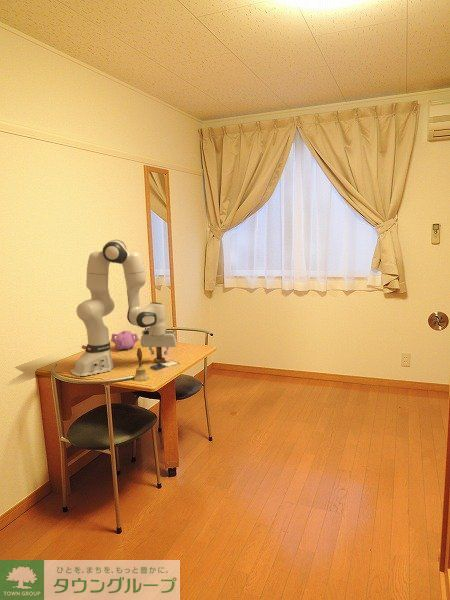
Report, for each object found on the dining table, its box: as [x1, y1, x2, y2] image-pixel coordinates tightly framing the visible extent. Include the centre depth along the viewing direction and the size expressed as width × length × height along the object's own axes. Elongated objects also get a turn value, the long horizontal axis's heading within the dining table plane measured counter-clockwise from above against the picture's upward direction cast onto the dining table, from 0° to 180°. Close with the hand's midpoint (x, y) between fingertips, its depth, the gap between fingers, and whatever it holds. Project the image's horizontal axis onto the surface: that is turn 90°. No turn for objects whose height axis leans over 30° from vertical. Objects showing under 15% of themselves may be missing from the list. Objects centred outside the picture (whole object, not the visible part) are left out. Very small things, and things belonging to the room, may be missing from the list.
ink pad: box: [149, 363, 167, 371], centre depth 223 cm, size 6×5×1 cm
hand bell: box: [133, 347, 150, 382], centre depth 206 cm, size 8×8×16 cm
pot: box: [110, 330, 139, 351], centre depth 262 cm, size 18×17×12 cm
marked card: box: [160, 360, 181, 368], centre depth 229 cm, size 8×8×1 cm
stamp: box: [153, 347, 166, 364], centre depth 232 cm, size 5×4×9 cm
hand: (159, 354), depth 232 cm, fingers open, 6 cm apart
